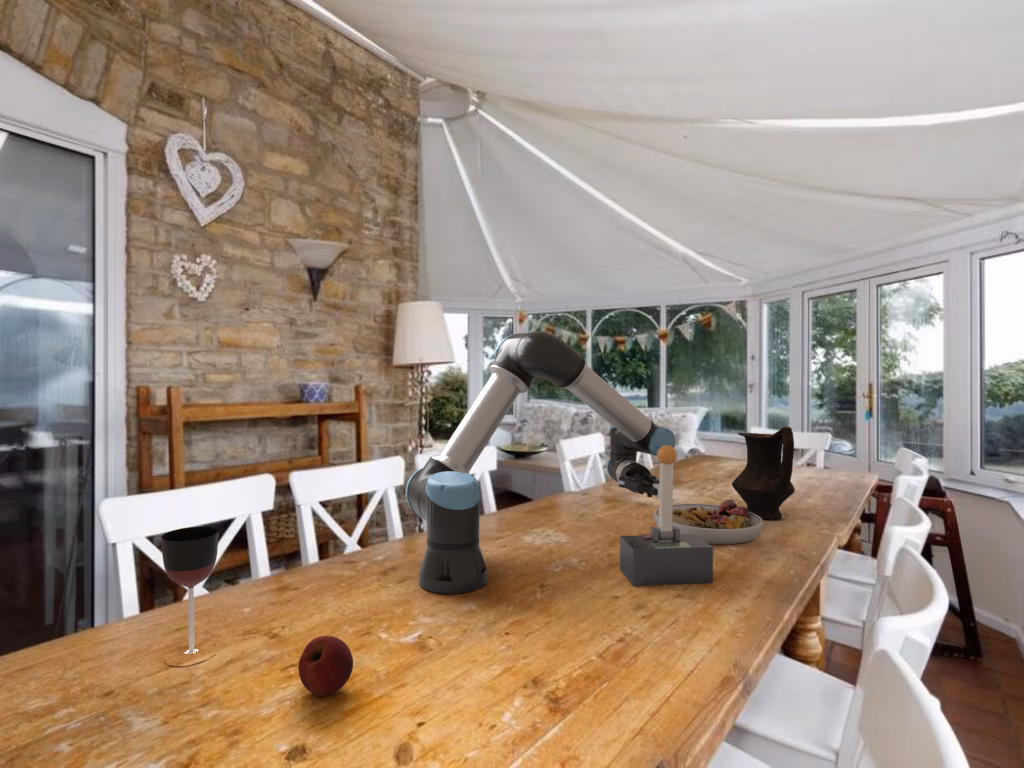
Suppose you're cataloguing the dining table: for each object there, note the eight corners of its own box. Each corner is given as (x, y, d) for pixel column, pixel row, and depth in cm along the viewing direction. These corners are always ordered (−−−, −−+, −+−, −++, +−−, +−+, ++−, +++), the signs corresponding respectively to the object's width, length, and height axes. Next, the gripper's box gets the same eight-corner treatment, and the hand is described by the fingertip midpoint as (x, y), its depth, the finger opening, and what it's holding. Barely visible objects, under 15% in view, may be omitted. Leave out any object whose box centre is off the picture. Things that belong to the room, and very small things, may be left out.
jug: (719, 511, 186) (719, 422, 186) (764, 507, 192) (765, 420, 191) (765, 528, 166) (766, 428, 165) (814, 523, 171) (815, 426, 171)
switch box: (620, 569, 131) (620, 523, 131) (694, 567, 132) (694, 521, 132) (632, 585, 121) (633, 535, 121) (712, 583, 123) (713, 533, 122)
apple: (286, 695, 80) (286, 640, 80) (331, 671, 86) (331, 620, 86) (319, 713, 76) (319, 654, 75) (364, 686, 82) (363, 632, 82)
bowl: (727, 555, 142) (727, 525, 142) (633, 530, 165) (633, 504, 165) (781, 534, 161) (782, 507, 161) (690, 514, 184) (690, 490, 184)
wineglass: (206, 638, 97) (205, 524, 97) (228, 654, 91) (227, 533, 91) (154, 655, 91) (153, 534, 90) (175, 674, 85) (173, 544, 85)
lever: (652, 536, 129) (654, 443, 127) (670, 535, 129) (672, 443, 128) (659, 542, 124) (660, 447, 123) (678, 542, 125) (680, 447, 123)
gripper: (657, 489, 152) (693, 510, 128) (609, 490, 150) (638, 512, 127) (657, 462, 151) (694, 478, 128) (610, 462, 150) (638, 479, 127)
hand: (666, 495), depth 127 cm, fingers closed
